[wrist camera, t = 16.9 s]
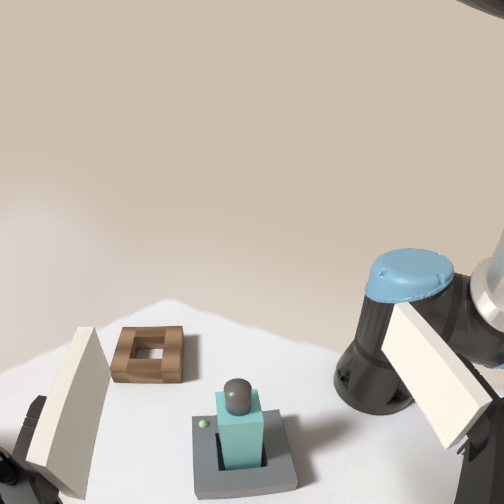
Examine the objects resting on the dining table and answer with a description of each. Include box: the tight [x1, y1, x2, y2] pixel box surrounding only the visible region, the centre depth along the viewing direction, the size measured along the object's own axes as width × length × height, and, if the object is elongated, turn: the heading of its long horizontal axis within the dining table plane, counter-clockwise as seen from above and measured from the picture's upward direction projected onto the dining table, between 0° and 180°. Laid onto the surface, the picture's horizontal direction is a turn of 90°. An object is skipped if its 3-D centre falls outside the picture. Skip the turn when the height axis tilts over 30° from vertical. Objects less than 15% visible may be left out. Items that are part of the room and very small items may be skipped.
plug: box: [215, 379, 264, 471], centre depth 30 cm, size 4×4×16 cm
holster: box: [110, 326, 184, 383], centre depth 50 cm, size 12×12×3 cm
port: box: [192, 409, 298, 500], centre depth 32 cm, size 12×12×4 cm
